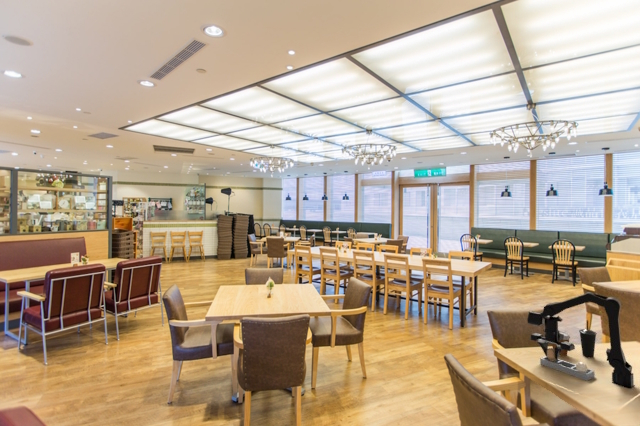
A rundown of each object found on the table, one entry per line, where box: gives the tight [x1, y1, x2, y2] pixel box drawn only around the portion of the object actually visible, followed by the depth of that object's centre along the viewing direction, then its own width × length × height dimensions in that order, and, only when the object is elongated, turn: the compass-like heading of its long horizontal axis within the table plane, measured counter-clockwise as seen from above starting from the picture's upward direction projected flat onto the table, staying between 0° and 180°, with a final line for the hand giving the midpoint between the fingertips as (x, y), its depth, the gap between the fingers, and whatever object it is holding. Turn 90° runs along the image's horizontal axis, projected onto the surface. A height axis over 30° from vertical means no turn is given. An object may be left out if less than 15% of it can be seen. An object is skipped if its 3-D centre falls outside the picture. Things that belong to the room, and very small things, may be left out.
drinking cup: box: [578, 320, 597, 359], centre depth 183 cm, size 8×8×20 cm
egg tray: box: [539, 355, 596, 381], centre depth 164 cm, size 21×7×4 cm, turn 30°
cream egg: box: [575, 361, 588, 373], centre depth 159 cm, size 4×4×6 cm
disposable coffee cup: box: [551, 330, 571, 357], centre depth 185 cm, size 10×10×12 cm
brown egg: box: [547, 347, 556, 362], centre depth 170 cm, size 4×4×6 cm
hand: (551, 358), depth 170 cm, fingers closed on brown egg, 4 cm apart
